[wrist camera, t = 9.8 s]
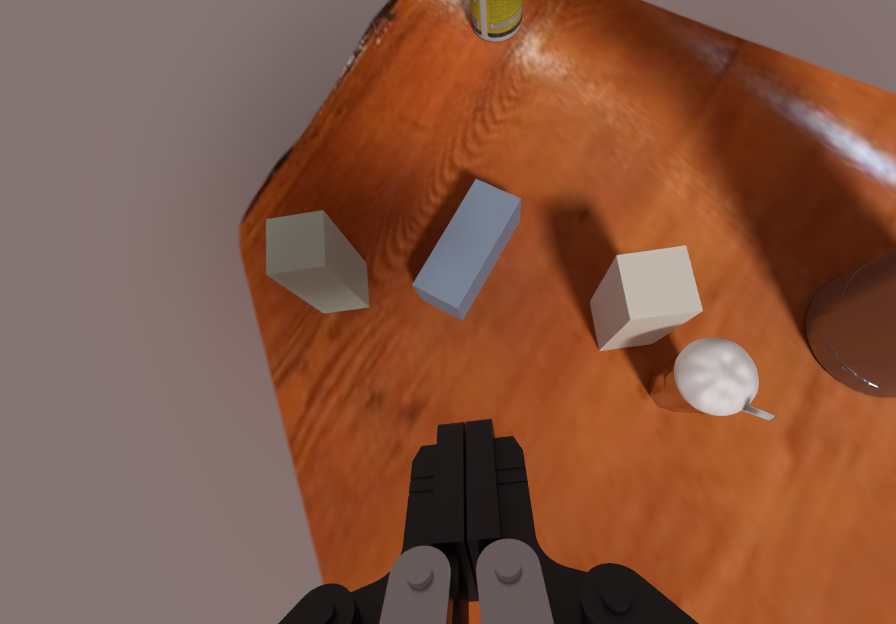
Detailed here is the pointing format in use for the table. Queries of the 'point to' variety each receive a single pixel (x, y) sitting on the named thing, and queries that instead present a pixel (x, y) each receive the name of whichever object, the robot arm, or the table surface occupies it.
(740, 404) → the milkshake
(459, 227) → the slate blue block
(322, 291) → the sage block
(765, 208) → the table surface
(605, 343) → the cream block
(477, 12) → the supplement bottle
